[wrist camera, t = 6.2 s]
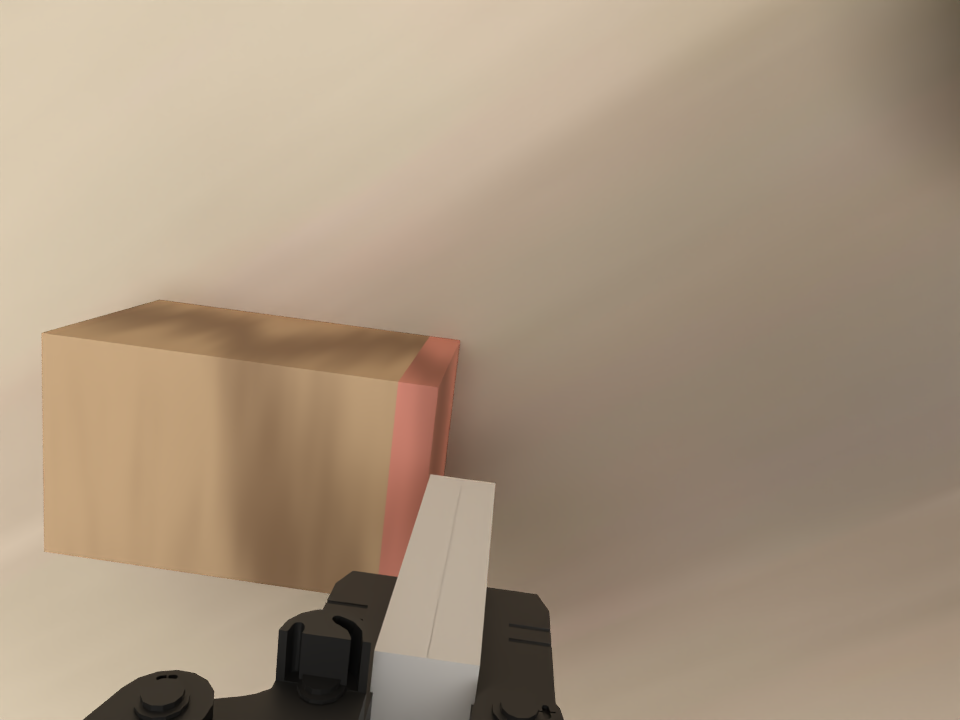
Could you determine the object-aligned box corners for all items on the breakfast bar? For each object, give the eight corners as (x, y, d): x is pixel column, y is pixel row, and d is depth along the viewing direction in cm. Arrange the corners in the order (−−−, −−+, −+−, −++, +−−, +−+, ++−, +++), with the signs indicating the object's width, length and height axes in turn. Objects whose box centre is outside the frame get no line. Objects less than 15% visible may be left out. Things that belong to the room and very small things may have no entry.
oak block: (438, 387, 18) (41, 333, 18) (413, 605, 19) (44, 551, 19) (460, 340, 24) (159, 299, 24) (439, 510, 25) (155, 469, 25)
